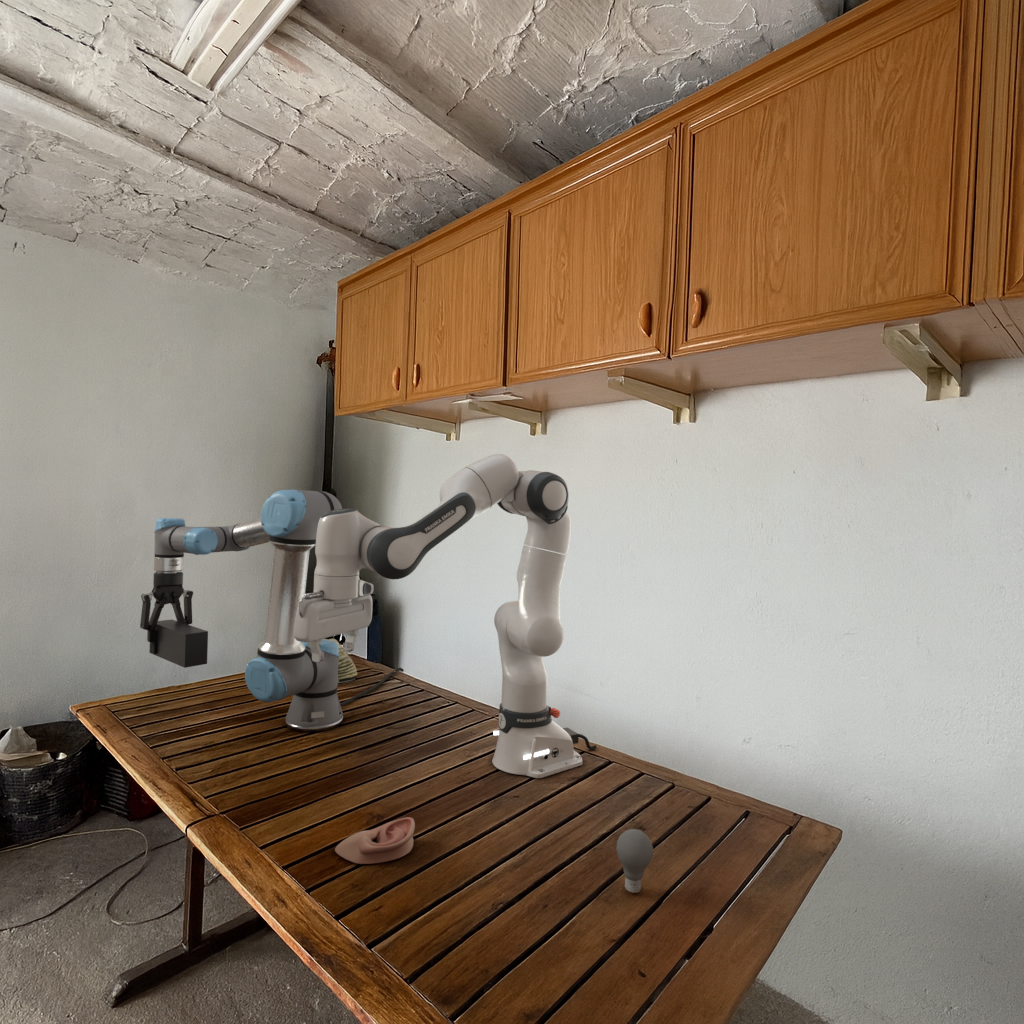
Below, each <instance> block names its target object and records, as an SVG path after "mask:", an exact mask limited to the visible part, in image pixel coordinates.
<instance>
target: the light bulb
mask: <svg viewBox="0 0 1024 1024" xmlns="http://www.w3.org/2000/svg"><path fill="white" fill-rule="evenodd" d="M615 849H616V854H617V857H618V859H619V861H620V863H621V865H622V867H623V873H624V874H623V875H624V876H625V878H624V888H625V890H627V891H628V892H630V893H634V894H635V893H639V892H640V891H641V889H642V887H641V886H642V879H643V877H644V875H645V871H646V868H647V867H648V866H649V864H650V863H651V861H652V859H653V855H654V847H653V843H652V841H651V838H649V836H648V835H647V834H646V833H645V832H643V831H642V830H641V829H636V828H629V829H627V830H625V831H623V832H622V833H621V834H620V835H619V837H618V839H617V841H616V847H615Z"/></svg>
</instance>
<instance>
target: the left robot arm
mask: <svg viewBox="0 0 1024 1024" xmlns="http://www.w3.org/2000/svg"><path fill="white" fill-rule="evenodd" d="M338 509H343V506H342V503H341V502H340V500H339V499H338V498H337V497H336V496H335V495H333V494H331V493H329V492H327V491H323V490H304V489H303V490H302V489H290V488H289V489H282V490H277V491H275V492H273V493H272V494H270V496H268V497H267V498H266V500H265V501H264V503H263V505H262V508H261V512H260V517H258V518H255V519H250V520H247V521H243V522H240V523H236V524H233V525H227V526H226V525H225V526H187V525H186V520H185V519H184V518H181V517H180V518H179V517H160V518H157V519H156V521H155V527H154V552H153V553H154V557H153V571H155V572H154V573H153V583H152V585H153V587H152V590H151V592H148V593H142V594H141V595H140V598H141V601H142V605H141V614H140V623H139V624H140V625H139V628H140V629H142V630H145V631H147V634H146V635H147V636H146V641H147V642H148V643H149V650H150V653H149V654H151V653H153V654H157V636H158V631H156V630H155V628H156V625H157V622H158V621H159V619H160V616H161V614H162V611H163V609H164V607H165V605H169V604H170V605H171V606H172V609H173V612H174V616H175V619H176V621H178V622H181V623H184V624H187V625H191V624H193V603H192V601H193V596H194V591H193V590H189V589H185V588H184V587H183V585H184V572H183V570H184V564H185V563H184V561H185V559H184V558H185V554H192V555H195V556H199V555H201V556H202V555H203V556H205V555H209V554H211V553H224V552H225V553H226V552H242V551H247V550H248V549H250V548H251V547H255V546H259V545H263V544H268V543H270V544H271V545H272V547H273V555H272V556H273V557H272V567H271V576H270V577H271V578H270V585H269V586H270V587H269V597H268V607H267V617H266V627H265V637H264V638H265V639H264V640H263V641H261V642H260V643H259V644H258V645H257V652H256V657H254V658H252V659H251V660H250V661H249V662H248V663H247V664H246V666H245V670H244V680H245V684H246V686H247V688H248V690H249V691H250V694H251V695H252V696H253V697H254V698H255V699H256V700H258V701H260V702H263V703H272V702H273V703H274V702H276V701H282V700H284V699H286V698H288V697H291V696H293V697H292V699H291V702H290V704H289V708H288V711H287V713H286V715H285V726H286V728H287V729H289V730H291V731H294V732H295V731H296V732H301V733H316V732H325V731H329V730H332V729H335V728H337V727H339V726H340V725H342V723H343V722H344V714H343V709H342V706H345V705H347V704H349V703H352V702H353V701H354V700H356V699H359V698H361V697H363V696H364V695H367V694H369V693H371V692H372V691H374V690H376V689H377V688H378V687H380V686H381V685H382V684H383V683H384V682H386V681H387V680H388V679H389V678H390V677H391V676H393V675H395V674H396V673H398V672H399V671H400V672H405V670H404V668H402V667H397V668H396V669H394V670H393V671H391V672H389V673H387V675H385V676H384V677H383V678H382V679H381V680H379V682H378V683H376V684H374V685H373V686H372V687H370V688H368V689H367V690H364V691H362V692H360V693H358V694H356V695H354V696H352V697H350V698H349V699H346V700H344V701H342V702H340V699H339V695H338V684H339V683H338V664H339V647H338V645H337V643H335V642H333V641H329V639H328V640H322V639H321V645H319V646H320V649H321V651H322V652H324V660H322V661H319V662H314V661H312V652H311V650H310V648H309V645H308V642H301V641H297V640H296V639H295V637H294V625H295V618H296V612H297V608H298V606H299V601H300V600H301V599H302V597H304V595H305V594H306V587H307V579H308V571H309V570H308V568H309V560H310V559H309V558H310V551H311V550H312V549H313V548H315V545H316V534H317V527H318V522H319V519H320V517H321V516H322V515H323V514H324V513H326V512H328V511H332V510H338ZM181 597H183V611H182V607H181V601H180V598H181ZM153 598H154V599H155V602H154V605H153V606H154V607H153V608H152V612H151V605H152V602H151V601H152V600H153ZM153 654H152V655H153ZM394 671H396V672H394Z"/></svg>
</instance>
